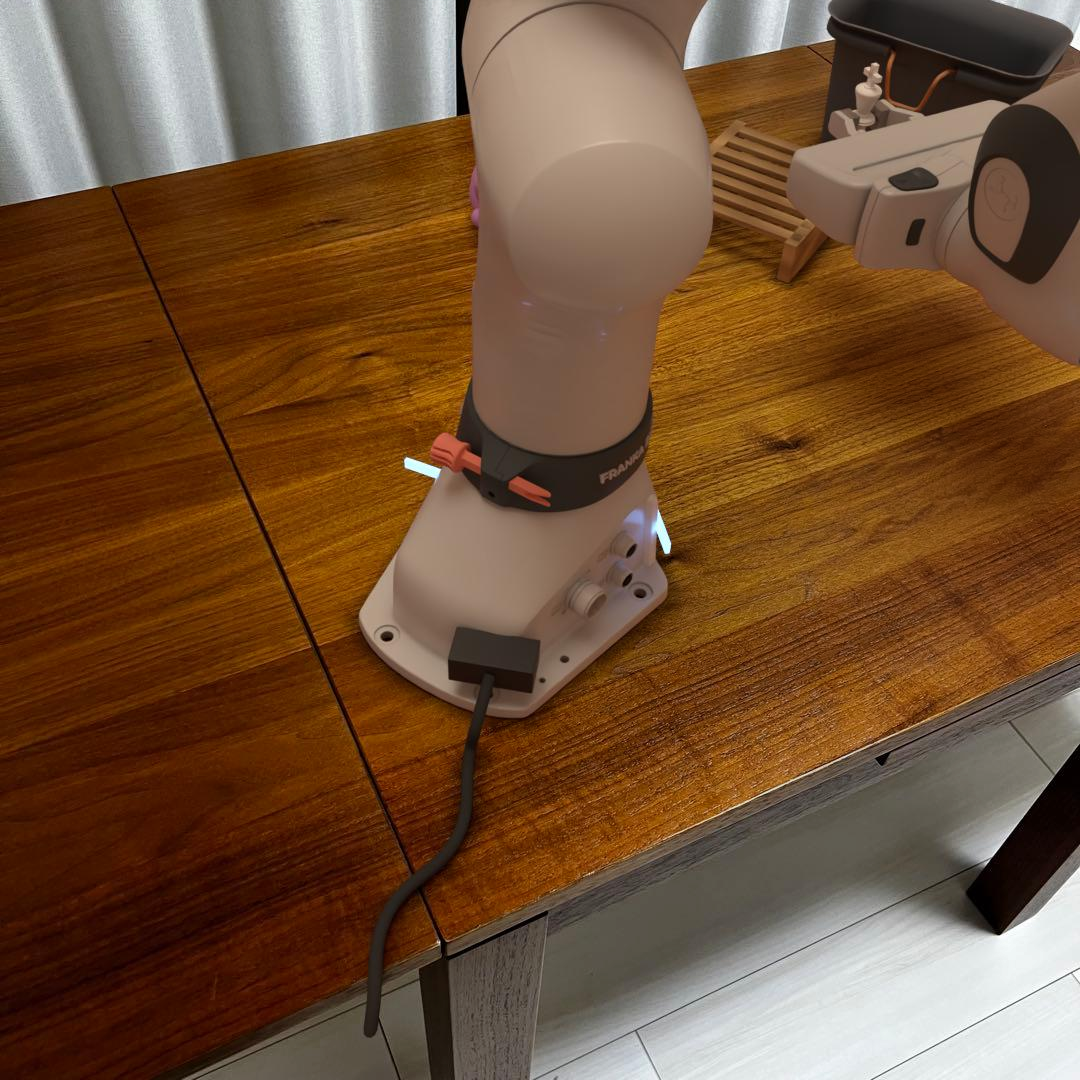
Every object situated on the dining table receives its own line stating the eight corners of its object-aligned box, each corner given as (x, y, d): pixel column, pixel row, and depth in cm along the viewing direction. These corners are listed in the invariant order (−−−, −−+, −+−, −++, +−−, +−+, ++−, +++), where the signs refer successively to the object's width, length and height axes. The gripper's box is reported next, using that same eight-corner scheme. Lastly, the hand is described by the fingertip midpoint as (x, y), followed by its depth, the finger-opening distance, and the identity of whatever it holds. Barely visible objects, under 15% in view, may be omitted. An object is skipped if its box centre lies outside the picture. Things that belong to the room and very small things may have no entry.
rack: (788, 284, 107) (797, 246, 104) (652, 230, 112) (657, 193, 109) (858, 202, 116) (868, 165, 113) (730, 155, 121) (736, 119, 118)
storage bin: (1031, 159, 122) (1084, 22, 111) (983, 231, 113) (1036, 90, 103) (838, 97, 129) (870, -38, 118) (779, 161, 120) (808, 22, 110)
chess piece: (837, 203, 95) (867, 85, 88) (803, 172, 98) (829, 55, 91) (887, 191, 97) (921, 73, 89) (852, 160, 100) (882, 44, 92)
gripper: (1093, 135, 87) (969, 50, 95) (867, 198, 80) (754, 102, 88) (1062, 210, 92) (946, 123, 100) (846, 275, 85) (740, 177, 93)
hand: (854, 113), depth 94 cm, fingers closed on chess piece
